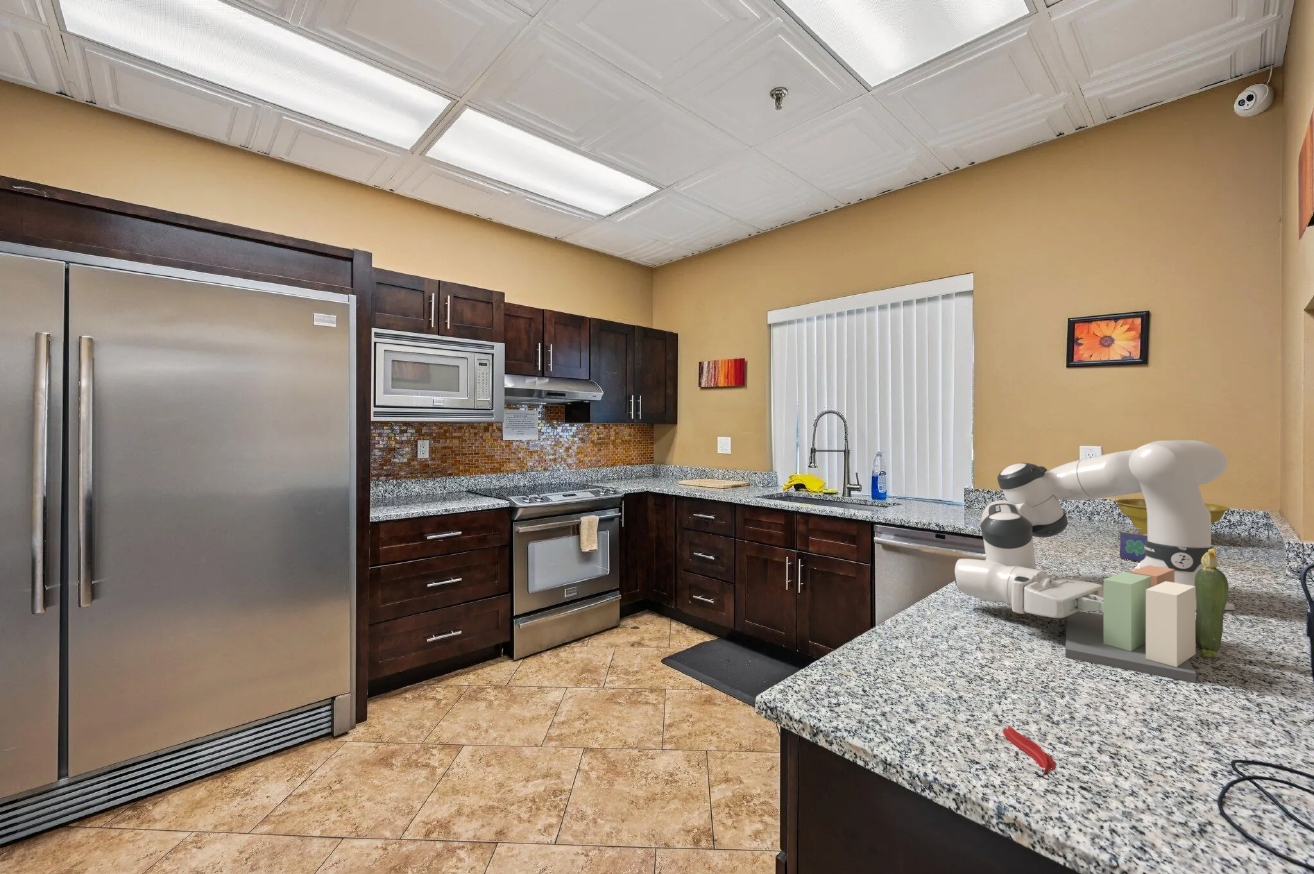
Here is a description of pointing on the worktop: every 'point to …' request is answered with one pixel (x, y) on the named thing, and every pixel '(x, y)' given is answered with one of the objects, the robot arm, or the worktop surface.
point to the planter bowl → (1139, 512)
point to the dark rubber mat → (1114, 649)
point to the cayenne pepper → (1030, 749)
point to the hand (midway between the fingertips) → (1113, 607)
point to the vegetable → (1210, 605)
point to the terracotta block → (1157, 574)
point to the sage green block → (1125, 610)
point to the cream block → (1170, 623)
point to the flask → (1132, 545)
